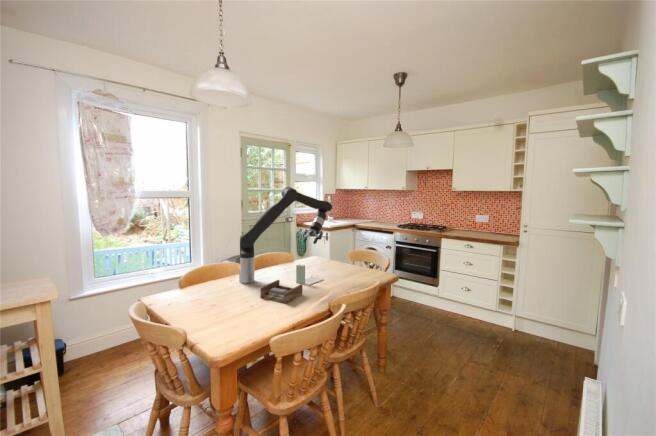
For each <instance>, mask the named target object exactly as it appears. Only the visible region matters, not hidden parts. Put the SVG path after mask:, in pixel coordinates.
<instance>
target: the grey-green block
mask: <svg viewBox="0 0 656 436" xmlns="http://www.w3.org/2000/svg"><path fill="white" fill-rule="evenodd" d="M295 270H296V271H295V273H296V274H295V275H296V277H295V278H296V279H295V281H296V284H299V285H305V284H304V283H305V279H306V265H305V264H296V267H295Z"/></svg>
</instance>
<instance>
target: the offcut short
mask: <svg viewBox="0 0 656 436" xmlns="http://www.w3.org/2000/svg"><path fill="white" fill-rule="evenodd" d="M285 292H287V290H285V289H280V288H272V289H270V293H272V294H278V295H283V296H284V293H285Z"/></svg>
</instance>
